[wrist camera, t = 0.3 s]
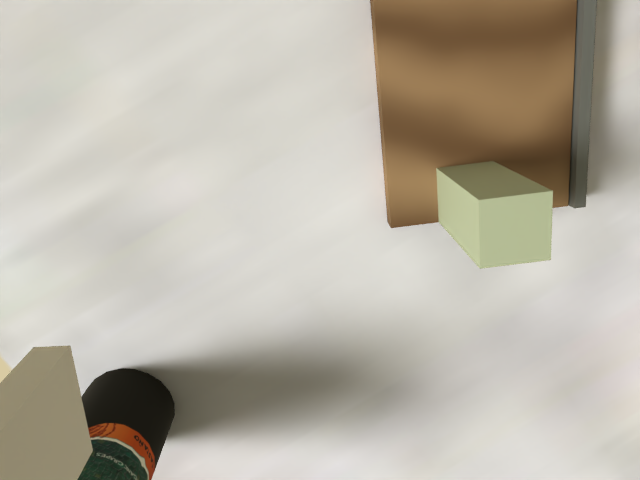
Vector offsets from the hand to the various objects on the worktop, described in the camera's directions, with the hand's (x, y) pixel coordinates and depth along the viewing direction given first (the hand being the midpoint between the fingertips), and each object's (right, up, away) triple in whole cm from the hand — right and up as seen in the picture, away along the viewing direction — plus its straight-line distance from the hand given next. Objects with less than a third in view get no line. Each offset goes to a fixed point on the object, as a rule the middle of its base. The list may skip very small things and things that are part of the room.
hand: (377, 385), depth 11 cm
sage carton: (+9, +7, +25) cm, 28 cm away
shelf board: (+9, +18, +23) cm, 30 cm away
